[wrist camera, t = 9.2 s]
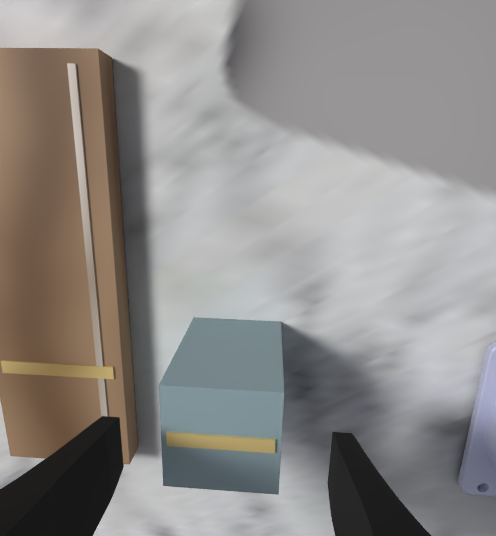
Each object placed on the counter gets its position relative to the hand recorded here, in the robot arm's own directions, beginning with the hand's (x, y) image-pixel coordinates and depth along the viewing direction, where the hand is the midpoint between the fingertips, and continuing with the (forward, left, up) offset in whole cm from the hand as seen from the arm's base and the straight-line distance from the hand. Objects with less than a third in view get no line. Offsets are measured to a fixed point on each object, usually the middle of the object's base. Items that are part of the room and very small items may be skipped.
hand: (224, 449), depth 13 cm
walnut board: (+8, -4, -5) cm, 11 cm away
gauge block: (0, 0, -6) cm, 6 cm away
